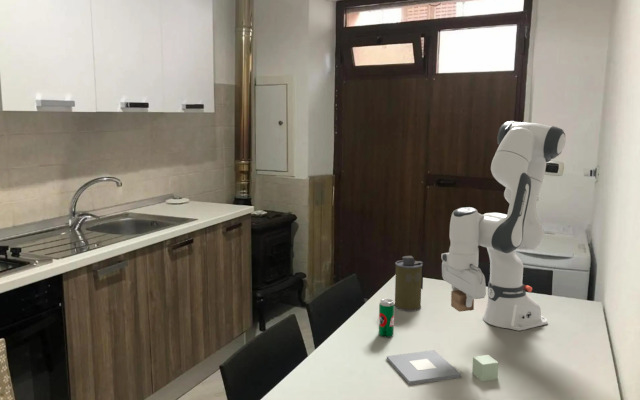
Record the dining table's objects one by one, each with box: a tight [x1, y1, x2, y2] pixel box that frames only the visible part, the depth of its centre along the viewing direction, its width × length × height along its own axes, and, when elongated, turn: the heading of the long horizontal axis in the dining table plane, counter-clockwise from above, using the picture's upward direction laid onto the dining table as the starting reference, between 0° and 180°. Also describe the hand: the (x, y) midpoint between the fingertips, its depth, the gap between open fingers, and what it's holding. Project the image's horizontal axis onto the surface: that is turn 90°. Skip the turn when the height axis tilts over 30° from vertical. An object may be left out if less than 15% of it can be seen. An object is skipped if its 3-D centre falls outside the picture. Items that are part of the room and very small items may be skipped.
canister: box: [394, 255, 424, 312], centre depth 202 cm, size 11×10×20 cm
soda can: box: [378, 298, 395, 338], centre depth 175 cm, size 5×5×12 cm
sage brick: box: [471, 354, 499, 382], centre depth 148 cm, size 5×5×5 cm
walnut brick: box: [450, 290, 475, 313], centre depth 163 cm, size 5×5×5 cm
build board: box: [386, 349, 462, 386], centre depth 152 cm, size 16×16×1 cm
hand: (462, 302), depth 163 cm, fingers closed on walnut brick, 5 cm apart
